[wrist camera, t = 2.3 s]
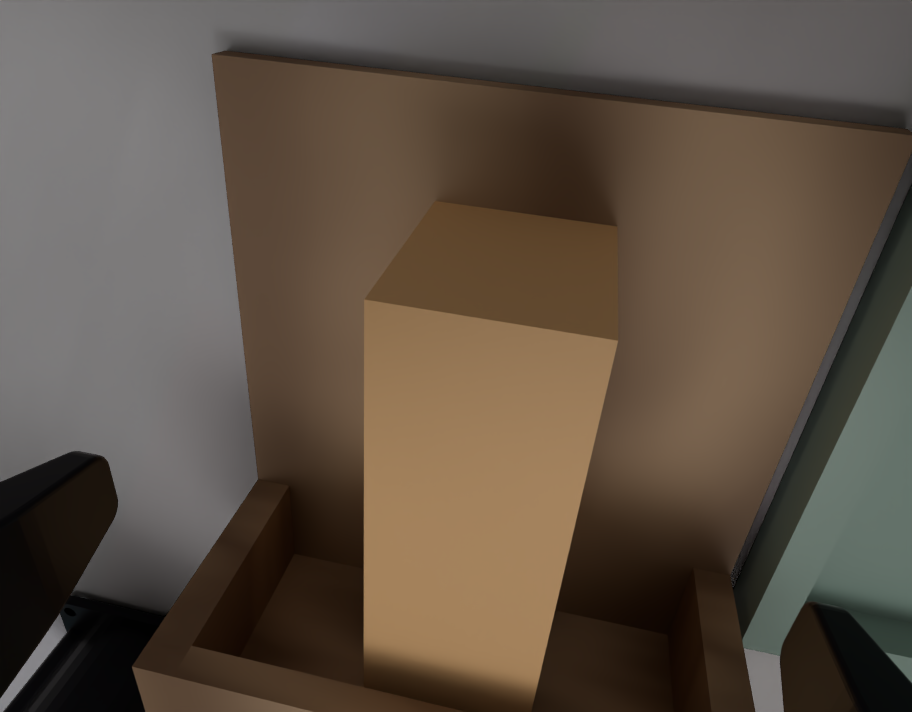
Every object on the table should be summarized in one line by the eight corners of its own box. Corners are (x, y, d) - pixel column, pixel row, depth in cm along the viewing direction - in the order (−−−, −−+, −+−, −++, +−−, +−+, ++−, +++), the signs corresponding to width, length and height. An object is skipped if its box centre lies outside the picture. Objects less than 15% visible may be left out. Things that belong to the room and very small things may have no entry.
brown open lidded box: (275, 554, 23) (160, 760, 17) (225, 50, 15) (-34, 117, 9) (691, 645, 21) (720, 909, 15) (906, 128, 13) (1151, 279, 7)
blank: (413, 568, 21) (363, 721, 17) (435, 200, 15) (364, 299, 11) (539, 596, 21) (519, 760, 16) (617, 226, 14) (618, 340, 10)
